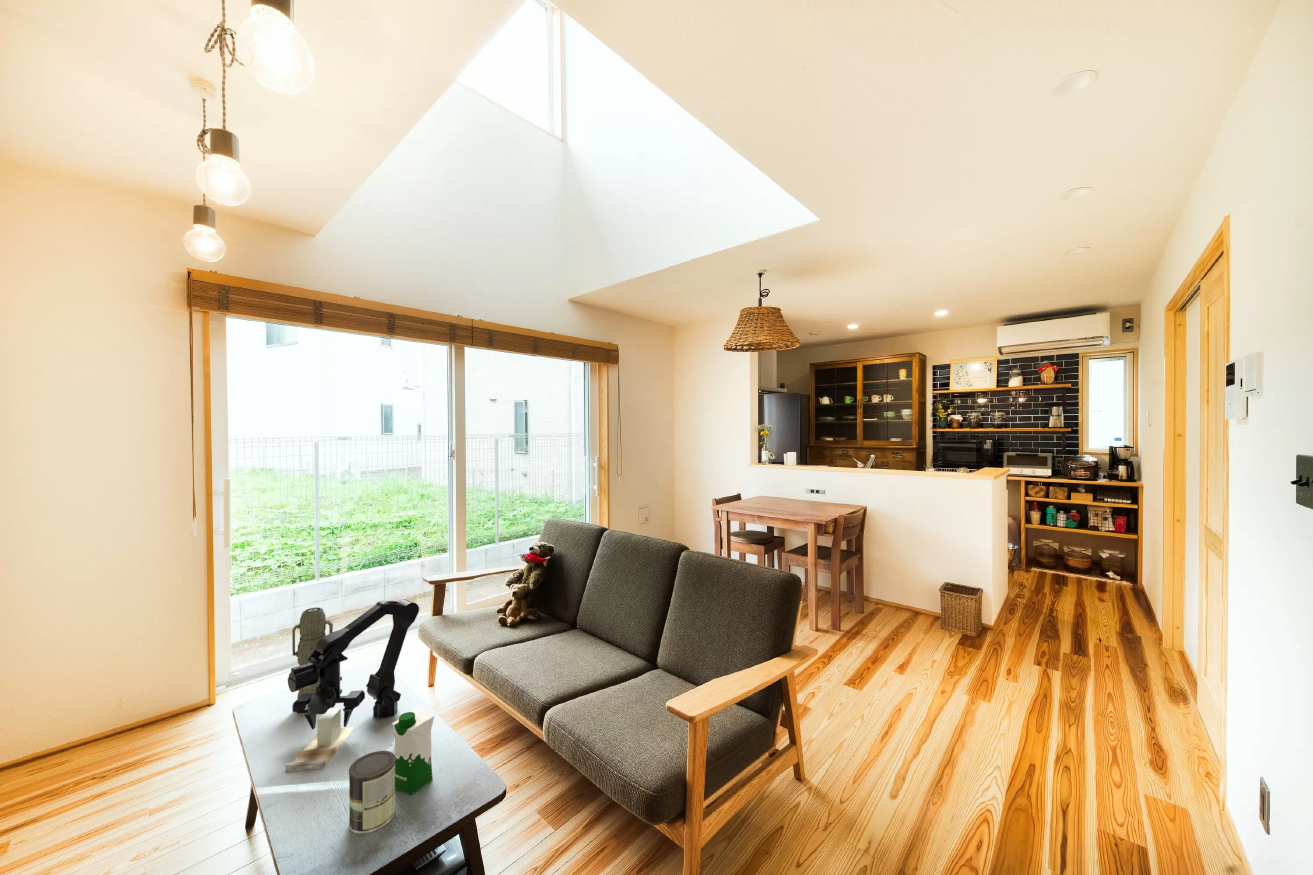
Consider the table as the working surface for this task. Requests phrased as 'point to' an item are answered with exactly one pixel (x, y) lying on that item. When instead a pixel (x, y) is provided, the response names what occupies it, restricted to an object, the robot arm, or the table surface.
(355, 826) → the coffee can
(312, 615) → the thermos
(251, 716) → the table surface
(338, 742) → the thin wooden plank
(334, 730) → the carton
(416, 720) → the milk carton
